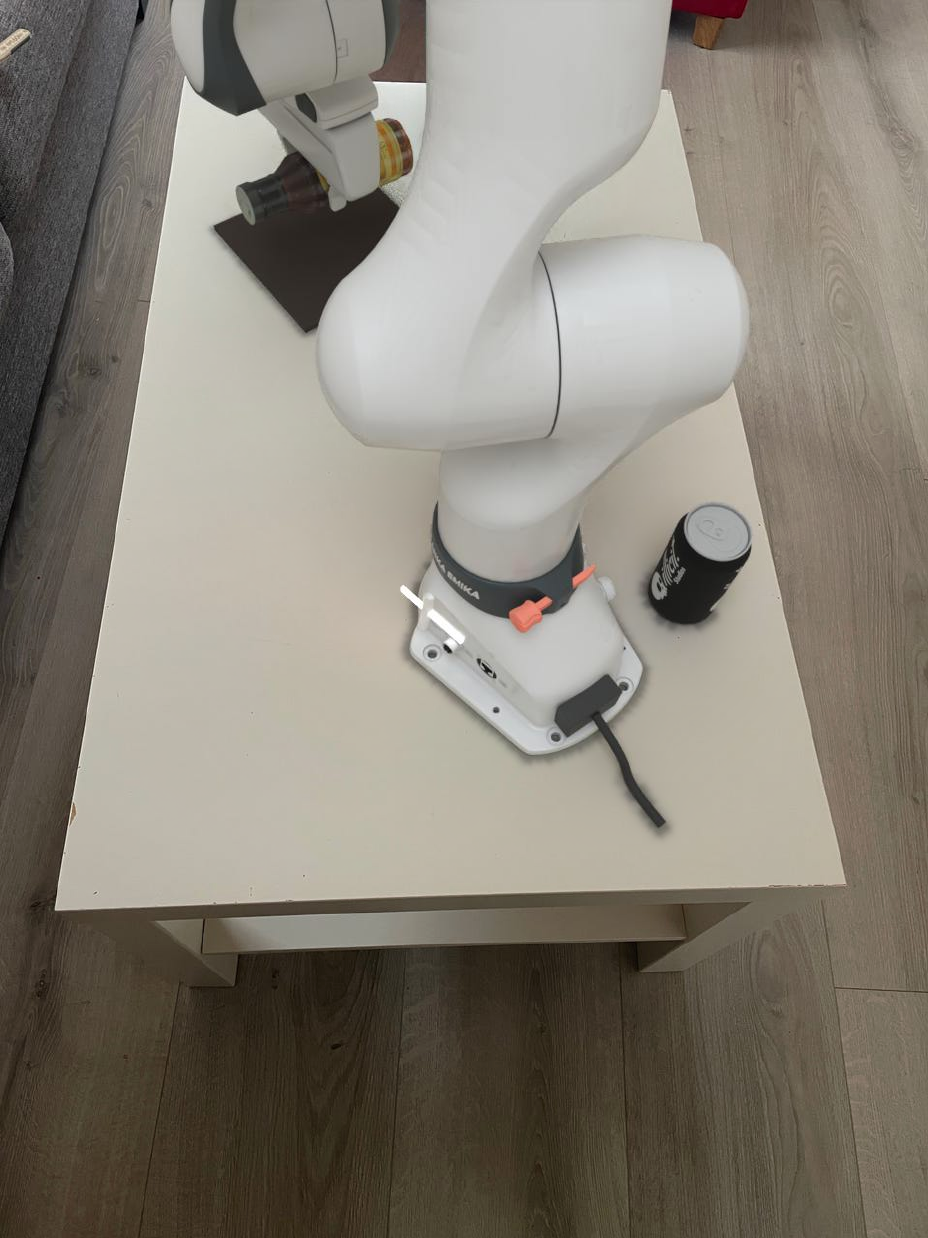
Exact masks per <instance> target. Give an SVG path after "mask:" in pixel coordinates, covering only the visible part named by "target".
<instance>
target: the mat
mask: <svg viewBox="0 0 928 1238" xmlns="http://www.w3.org/2000/svg"><path fill="white" fill-rule="evenodd" d="M399 209H400V206H398V204H396V203H395V202H394V200H393V199H391V198H390V197H389V196H388V195H387V194H386V193H385V191H383V190H382V189H381V187H378V188H376V189H375V190H374V191H373V192H372V193H370V194H368V195H366V196H364V197H362V198H359V199H357V200H354V201H348V200H346V205H345V207H344V208H342V209H340V210H338V211H333V210H332V209H331V208H330V207H326V208H323V209H321V210H318V211H316V212H314V213H311V214H306V213H301V212H294V211H288V210H287V211H286V212H281V213H279V214H276V215H274V216H272V217H269V218H267V219H266V220H265V221H264V222H263V223H260V224H256V225H251V224H250V223H249V222H248V221H247V220H246V219H245V217H244V215H243V213H242V212H240V213H239V214H236V215H234V216H231V217H229V218H227V219H225V220H222V221H220V222H218V223H216V224H213V229H214V231H215V232H216V233H217V234H218V235H219V237H221V239H222V240H223V241H224V242H225V244H226V245H228V247H229V248H230V249H231V250H232V251H233V252H234V253H235V255H236V256H237V257H238V258H239V259H240V260H241V261H242V263H243V264H244V265H245V266H246V267H247V268H248V269H249V270H250V272H251V273H252V274H253V275H254V276H255V277H256V278H257V279H258V281H259V282H260V283H261V284H262V285H263V286H264V287H265V289H267V291H268V292H269V293H270V294H271V295H272V297H273V298H274V299H275V300H276V301H277V302H278V303H279V304H280V305H281V307H282V308H283V309H284V310H285V311H286V312H287V313H288V314H289V316H290V317H291V318H292V319H293V320H294V322H296V324H297V325H298V326H299V327H300V328H301V329H302V330H303V331H304V333H308V332H310V331H312V330H314V329H316V328H318V325H319V321H320V318H321V315H322V312H323V310H324V308H325V306H326V303H327V301H328V299H329V298H330V296H331V294H332V293H333V291H334V290H335V288H336V287H337V286H338V284H339V283H340V282H341V280H342V279H344V278H345V277H346V276H347V275H348V274H349V273H351V272H352V271H353V270H354V269H355V268H356V267H357V266H358V265H359V264H360V263H362V262H363V260H364V259H365V258H366V257H367V256H368V255H369V254H370V253H371V251H372V250H373V249H374V248H375V247H376V245H377V244H378V243H379V241H380V240H381V239H382V237H383V236H384V235H385V233H386V231H387V230H388V228H389V227H390V225H391V223H392V222H393V220H394V218H395V217H396V215H397V213H398V211H399Z"/></svg>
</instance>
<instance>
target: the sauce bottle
mask: <svg viewBox="0 0 928 1238" xmlns="http://www.w3.org/2000/svg"><path fill="white" fill-rule="evenodd" d="M375 122H376V126H377V131H378V138H379V154H380V182H379V185H378V187H379V188H381V187H384V186H387V185H388V184H391V183H393V182H394V183H395V182H397V181H398V180H399V179H400V178H402V177H405V176H408V175H409V174H410V173H411V172H412V170H413V167H414V152H413V147H412V144H411V143H412V142H411V140H410V137H409V136H408V134H407V133H406V130H405V129H404V127H403V125H402V123H401V122H400V121H398V119H395V118H390V117H385V118H383V119H377V120H375ZM378 187H377V188H378ZM329 188H330V185H329V184H328V183H327V180H326V178H325V177H324V176H323V175H322V174H321V173H320V172H319V171H318V170H317V169H316V168H315V167H314V166H313V165H312V164H311V163H310V162H309V161H308V160H307V159H306V158H305V157H304V156H303V155H302V154H301V153H300V152H299V151H297V152H294V153H292V154H289V155H287V156H284V157H283V159H282V160H281V161H280V163H279V165H278V167H277V168H276V170H275V171H274V172H273V173H269V174H267V175H266V176H264V177H261V178H259V179H256V180H254V181H245V182H242V183H240V184H238V185H237V186H236V187H235V191H234V192H235V198H236V201H237V204H238V207H239V209H240V211H241V213H243V215H244V217H245V219H246V220H247V221H248V222H249V223H250V224H251V225H256V224H260V223H263V222H264V221H265V220H266V219H267V218H269V217H272V216H274V215H276V214H279V213H281V212H286V211H287V210H288V211H294V212H301V213H306V214H311V213H314V212H316V211H318V210H321V209H323V208H326V207H329V206H328V205H327V204H326V202H325V196H324V190H326V189H329Z"/></svg>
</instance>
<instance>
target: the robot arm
mask: <svg viewBox="0 0 928 1238" xmlns="http://www.w3.org/2000/svg"><path fill="white" fill-rule="evenodd" d="M672 7H673V0H427V30H428V41H427V90H426V89H425V113H424V126H423V131H422V139H421V145H420V150H419V154H418V158H417V162H416V166H415V169H414V172H413V175H412V179H411V181H410V184H409V186H408V188H407V191H406V193H405V196H404V198H403V201H402V202H401V205H400V206H399V208H400V209H399V211H398V213H397V215H396V217H395V218H394V220H393V222H392V223H391V225H390V227H389V228H388V230H387V231H386V233H385V235H384V236H383V237H382V239H381V240H380V241H379V243H378V244H377V245H376V247H375V248H374V249H373V250H372V251H371V253H370V254H369V255H368V256H367V257H366V258H365V259H364V260H363V262H362V263H360V264H359V265H358V266H357V267H356V268H355V269H354V270H353V271H352V272H351V273H349V274H348V275H347V276H346V277H345V278H344V279H342V280H341V282H340V283H339V284H338V286H337V287H336V288H335V290H334V291H333V293H332V294H331V296H330V298H329V299H328V301H327V303H326V306H325V308H324V310H323V312H322V315H321V318H320V321H319V325H318V327H317V331H316V335H315V345H314V358H315V360H314V361H315V368H316V369H315V370H316V375H317V379H318V383H319V386H320V389H321V392H322V395H323V397H324V399H325V402H326V404H327V405H328V407H329V409H330V411H331V413H332V414H333V416H334V417H335V418H336V419H337V421H338V422H339V424H340V425H341V426H342V427H343V428H344V429H345V430H346V431H347V432H348V433H349V434H350V435H351V436H352V437H353V438H354V439H355V440H356V441H358V442H360V443H361V444H362V445H363V446H365V447H370V448H381V449H390V450H392V449H393V450H402V451H403V450H404V451H420V452H421V451H422V452H439V453H440V452H441V456H440V458H439V465H438V488H437V489H438V490H437V501H436V503H435V506H434V510H433V513H432V522H431V524H430V529H429V530H430V532H429V533H430V535H429V538H430V548H431V553H432V559H431V563H430V565H429V567H428V568H427V570H426V571H425V573H424V575H423V577H422V579H421V582H420V585H419V589H418V594H417V596H416V595H415V594H414V593H413V592H412V591H410V590H409V589H408V587H406V586H404V585H402V586H401V587H400V592H401V593H402V594H403V595H405V597H406V598H407V599H409V600H410V601H411V602H412V603H414V604H415V606H417V624H416V626H415V628H414V630H413V633H412V636H411V639H410V643H409V648H408V649H409V654H410V656H411V657H412V658H413V659H414V660H415V662H417V663H418V664H419V665H421V667H422V668H424V669H425V670H426V671H427V672H429V674H431V675H432V676H433V677H434V678H435V679H437V680H438V681H439V682H440V683H441V684H443V685H444V686H445V687H446V688H447V689H449V690H450V691H451V692H452V693H453V694H454V695H456V696H457V697H458V698H459V699H460V700H461V701H463V702H464V703H465V704H466V705H467V706H468V707H470V708H471V709H472V710H473V711H474V712H475V713H476V714H478V715H479V716H480V717H481V718H483V719H484V720H485V721H486V722H487V723H488V724H490V726H492V727H493V728H494V729H495V730H497V731H498V732H499V733H500V734H501V735H503V737H505V738H506V739H507V740H508V741H510V743H512V744H513V745H514V746H516V747H517V748H518V749H519V750H521V751H522V752H523V753H525V754H527V755H529V756H542V755H548V754H553V753H557V752H560V751H563V750H565V749H569V748H570V747H572V746H574V745H577V744H579V743H580V742H582V741H583V740H586V739H587V738H588V737H590V736H592V735H593V734H594V733H596V732H597V731H599V732H600V734H601V735H602V737H603V738H604V740H605V741H606V744H608V747H609V748H610V750H611V751H612V753H613V755H614V756H615V757H614V758H615V759H616V761H617V763H618V765H619V768H620V771H621V775H622V777H623V780H624V782H625V785H626V787H627V788H628V790H629V791H630V793H631V795H632V796H633V797H634V799H635V800H636V802H637V803H638V804H639V806H640V807H641V808H642V809H643V810H644V811H645V813H646V814H647V816H648V817H649V818H650V819H651V820H652V822H653V823H654V825H656V826H657V828H661V827H662V826H663V825H665V824H666V823H667V821H666V820H665V819H664V817H663V816H662V815H661V814H660V812H659V811H658V810H657V809H656V808H655V806H654V805H653V804H652V803H651V802H650V800H649V799H648V797H646V795H645V794H644V792H643V791H642V789H641V787H640V786H639V784H638V783H637V781H636V779H635V777H634V775H633V773H632V769H631V765H630V763H629V759H628V758H627V757H628V756H627V755H626V753H625V752H624V750H623V747H622V746H621V744H620V743H619V741H618V739H617V738H616V736H615V735H614V733H613V731H612V730H611V728H610V727H609V725H608V724H607V723H609V722H610V721H611V720H613V719H614V718H615V717H616V716H617V715H618V714H619V713H620V712H621V711H622V710H623V709H624V707H626V705H627V704H628V703H629V702H630V701H631V699H632V697H633V695H634V694H635V692H636V691H637V689H638V686H639V684H640V681H641V677H642V675H643V670H644V667H643V663H642V662H641V659H640V658H639V656H638V654H637V653H636V651H635V649H634V648H633V647H632V645H631V643H630V641H629V640H628V638H627V636H626V635H625V633H624V632H623V630H622V628H621V626H620V624H619V622H618V620H617V618H616V616H615V613H614V612H613V610H612V607H610V604H609V603H610V602H612V601H614V600H615V599H616V598H617V590H616V586H615V585H614V583H613V581H612V580H611V579H610V578H609V577H608V576H605V575H604V576H600V577H599V578H596V577H595V575H594V572H595V569H596V567H597V564H596V563H594V564H591V565H590V566H589V563H588V561H587V559H586V558H585V554H587V547H586V544H585V543H584V541H583V539H582V527H581V525H580V522H581V518H582V516H583V513H584V510H585V508H586V506H587V504H588V501H589V499H590V497H591V495H592V494H593V492H594V491H595V490H596V488H597V487H598V486H599V485H600V484H601V483H602V482H603V481H604V480H605V479H606V478H607V477H608V476H609V475H610V473H612V472H613V471H614V470H615V469H616V468H617V467H618V466H619V465H620V464H622V463H623V462H624V461H625V460H626V459H627V458H629V456H631V455H632V454H633V453H634V452H635V451H636V450H637V449H639V448H640V447H642V446H643V445H644V444H645V443H647V441H649V440H650V439H651V438H653V437H655V436H656V435H657V434H659V433H660V432H662V431H663V430H664V429H666V428H668V427H669V426H671V425H673V424H675V423H676V422H678V421H679V420H681V419H683V418H684V417H687V416H689V415H690V414H693V413H695V412H696V411H698V410H701V409H702V408H704V407H707V406H709V405H711V404H713V403H715V402H716V401H718V400H719V399H720V398H722V397H723V396H724V394H725V393H726V391H728V389H729V388H730V386H731V385H732V384H733V382H734V380H735V379H736V377H737V376H738V373H739V371H740V369H741V367H742V364H743V362H744V360H745V357H746V354H747V351H748V347H749V341H750V334H751V309H750V302H749V298H748V293H747V290H746V287H745V284H744V281H743V280H742V277H741V275H740V273H739V271H738V270H737V268H736V266H735V264H734V263H733V262H732V260H731V259H730V257H728V255H727V254H726V253H725V252H724V250H722V249H721V248H720V247H719V246H717V245H716V244H715V243H711V242H707V241H701V240H693V239H688V238H687V239H685V238H679V237H672V236H660V235H651V234H641V233H632V234H623V235H622V234H621V235H614V236H613V235H612V236H604V237H594V238H586V239H585V238H584V239H575V240H567V241H558V242H557V241H555V242H546V243H544V241H545V239H546V238H547V235H548V234H549V233H550V232H551V230H552V228H553V227H554V226H555V224H556V223H557V221H558V220H559V219H560V218H561V216H562V215H563V214H564V213H565V212H566V211H567V210H568V209H569V208H571V206H572V205H574V204H575V203H576V202H577V201H578V200H579V199H581V198H582V197H583V196H585V195H586V194H588V193H589V192H590V191H592V190H593V189H595V188H596V187H598V186H600V185H601V184H603V183H604V182H605V181H607V180H609V179H610V178H612V177H613V176H614V175H616V174H617V173H619V172H620V171H621V170H622V169H623V168H624V167H625V166H627V164H628V163H629V162H630V161H631V160H632V159H633V158H634V157H635V155H636V153H637V152H638V151H639V149H640V148H641V147H642V145H643V143H644V142H645V140H646V138H647V136H648V134H649V133H650V131H651V128H652V127H653V124H654V122H655V119H656V117H657V115H658V111H659V108H660V102H661V93H662V85H663V79H664V78H663V77H664V69H665V63H666V62H665V61H666V54H667V48H668V47H667V46H668V39H669V32H670V31H669V30H670V22H671V14H672ZM169 19H170V31H171V36H172V38H171V39H172V42H173V46H174V50H175V53H176V56H177V59H178V61H179V64H180V66H181V69H182V71H183V73H184V75H185V77H186V79H187V82H188V83H189V86H190V87H191V89H192V91H194V93H195V94H196V95H197V96H199V97H200V98H201V99H203V101H206V102H208V103H209V104H211V105H212V106H214V107H215V108H217V109H219V110H222V111H223V112H226V113H227V114H230V115H232V116H235V117H239V116H243V115H244V114H248V113H250V112H252V111H255V110H257V111H258V112H259V113H260V114H261V115H262V116H263V118H265V120H267V121H268V122H269V123H270V124H271V125H272V126H273V127H274V128H275V129H276V133H277V135H278V138H279V140H280V143H281V145H282V148H283V150H284V152H285V155H286V156H287V155H289V154H292V153H294V152H297V151H299V152H300V153H301V154H302V155H303V156H304V157H305V158H306V159H307V160H308V161H309V162H310V163H311V164H312V165H313V166H314V167H315V168H316V169H317V170H318V171H319V172H320V173H321V174H322V175H323V176H324V177H325V178H326V180H327V183H328V184H329V185H330V188H329V189H326V190H324V196H325V202H326V204H327V205H328V206H329V207H330V208H331V209H332V210H333V211H338V210H340V209H342V208H344V207H345V205H346V200H348V201H354V200H357V199H359V198H362V197H364V196H366V195H368V194H370V193H372V192H373V191H374V190H375V189H376V188H377V187H378V185H379V182H380V154H379V138H378V131H377V126H376V122H375V121H376V119H375V117H374V115H373V113H372V111H374V110H376V109H378V107H379V91H378V89H377V86H376V85H375V83H374V81H373V79H371V77H370V76H369V75H370V74H373V73H374V72H377V71H379V70H383V68H385V66H386V65H387V63H388V61H389V60H390V57H391V56H392V53H393V52H394V51H393V50H394V48H395V45H396V41H397V38H398V35H399V31H400V29H399V28H400V10H399V0H169ZM430 654H435V655H436V656H435V657H429V655H430ZM620 686H625V688H626V690H622V689H621V687H620ZM494 711H497V712H494ZM553 736H557V737H558V739H559V740H558V741H555V740H553V739H552V737H553Z"/></svg>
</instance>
